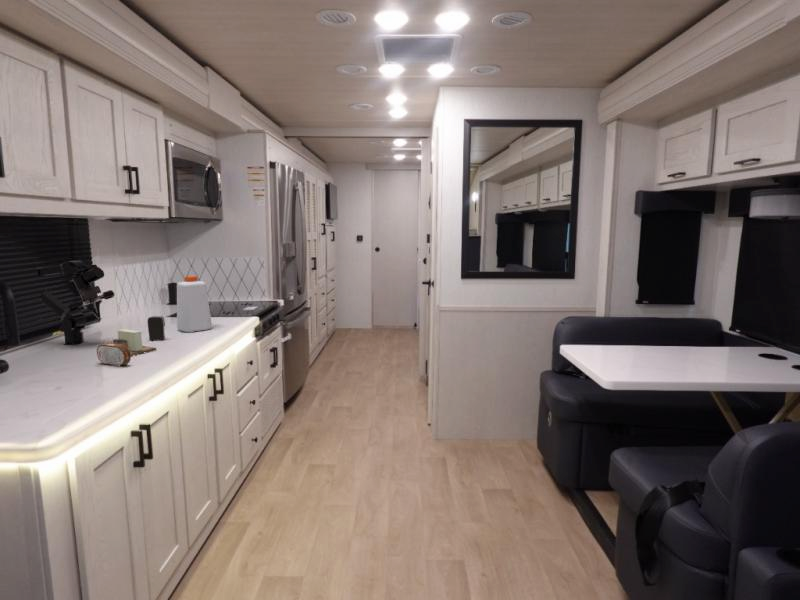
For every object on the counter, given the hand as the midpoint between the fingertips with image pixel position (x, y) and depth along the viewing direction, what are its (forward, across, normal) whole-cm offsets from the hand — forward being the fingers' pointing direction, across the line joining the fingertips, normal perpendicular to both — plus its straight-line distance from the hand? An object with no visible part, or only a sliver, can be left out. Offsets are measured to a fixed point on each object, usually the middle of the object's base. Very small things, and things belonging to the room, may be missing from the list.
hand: (99, 317), depth 220 cm
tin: (+24, -7, -37) cm, 45 cm away
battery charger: (+20, +18, -2) cm, 26 cm away
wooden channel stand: (+20, +2, -19) cm, 28 cm away
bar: (+20, +3, -21) cm, 29 cm away
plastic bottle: (+21, +38, +12) cm, 45 cm away
